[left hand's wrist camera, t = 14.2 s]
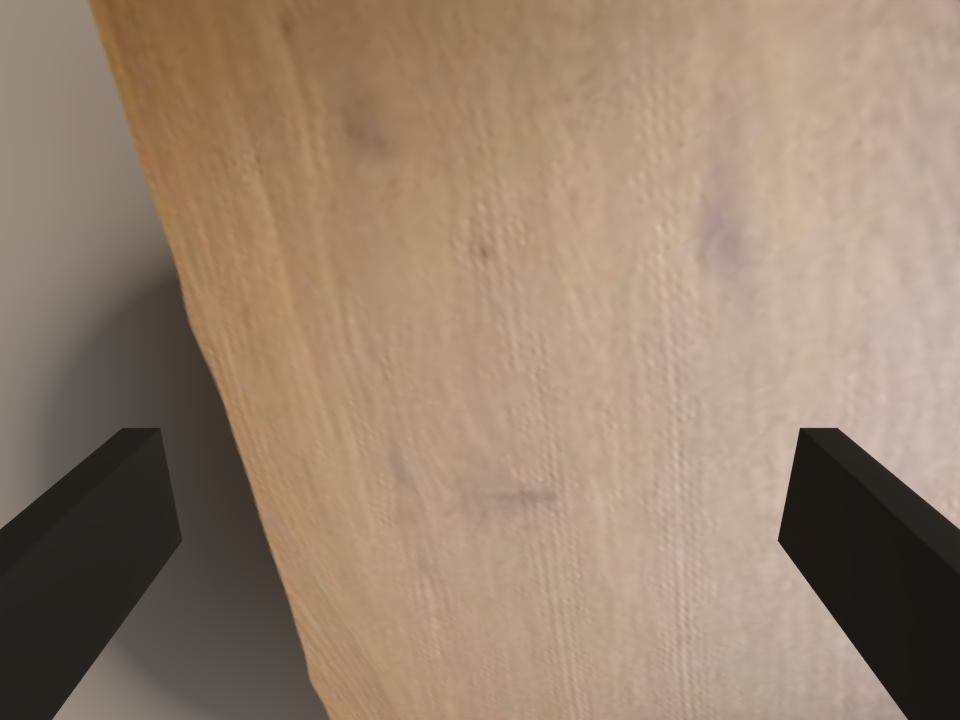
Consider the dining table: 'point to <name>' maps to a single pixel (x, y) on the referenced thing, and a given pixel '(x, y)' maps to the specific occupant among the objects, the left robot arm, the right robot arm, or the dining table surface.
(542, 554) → the dining table surface
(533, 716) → the dining table surface
